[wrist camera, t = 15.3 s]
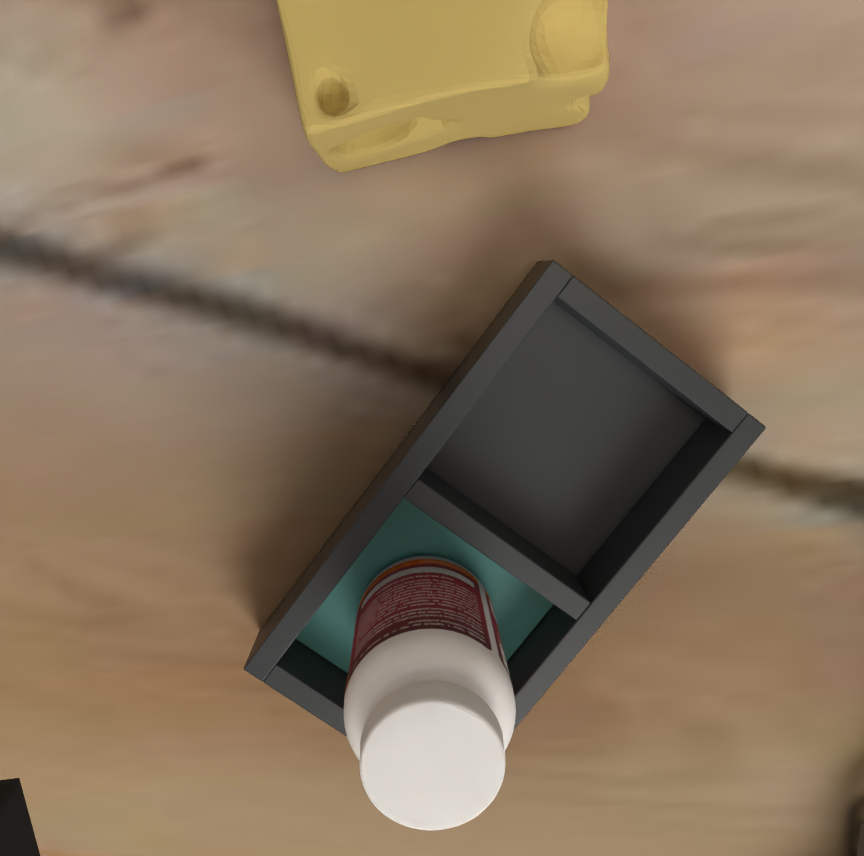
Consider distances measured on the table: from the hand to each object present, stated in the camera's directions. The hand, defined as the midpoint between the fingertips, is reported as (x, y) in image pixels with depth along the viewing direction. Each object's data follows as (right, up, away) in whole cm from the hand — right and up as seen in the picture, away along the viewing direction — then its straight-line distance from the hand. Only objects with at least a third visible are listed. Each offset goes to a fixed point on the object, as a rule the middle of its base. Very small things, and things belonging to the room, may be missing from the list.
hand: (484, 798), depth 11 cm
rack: (+2, +1, +24) cm, 24 cm away
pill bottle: (-1, -3, +24) cm, 25 cm away
